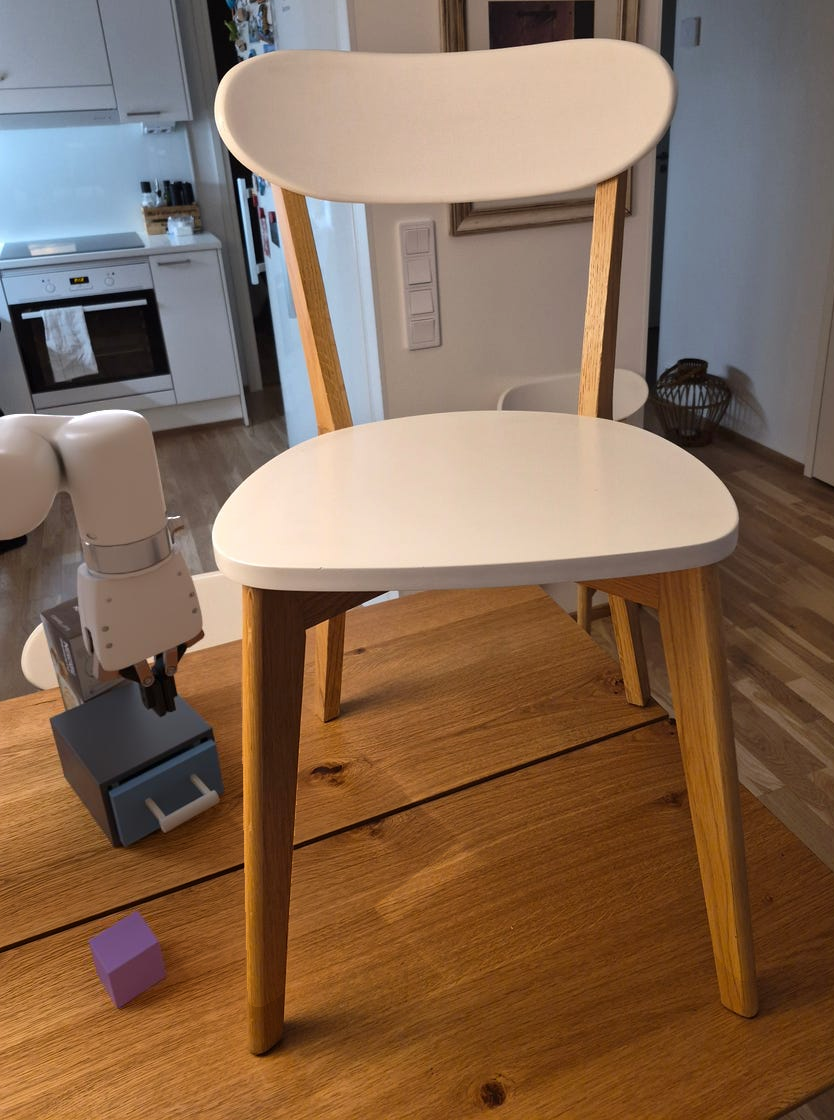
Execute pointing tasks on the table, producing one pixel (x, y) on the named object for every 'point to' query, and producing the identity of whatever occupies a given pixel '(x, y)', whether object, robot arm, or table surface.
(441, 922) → the table surface
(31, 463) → the robot arm
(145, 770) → the blue drawer
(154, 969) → the cube
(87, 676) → the coffee box
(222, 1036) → the table surface
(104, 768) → the dark grey drawer cabinet
